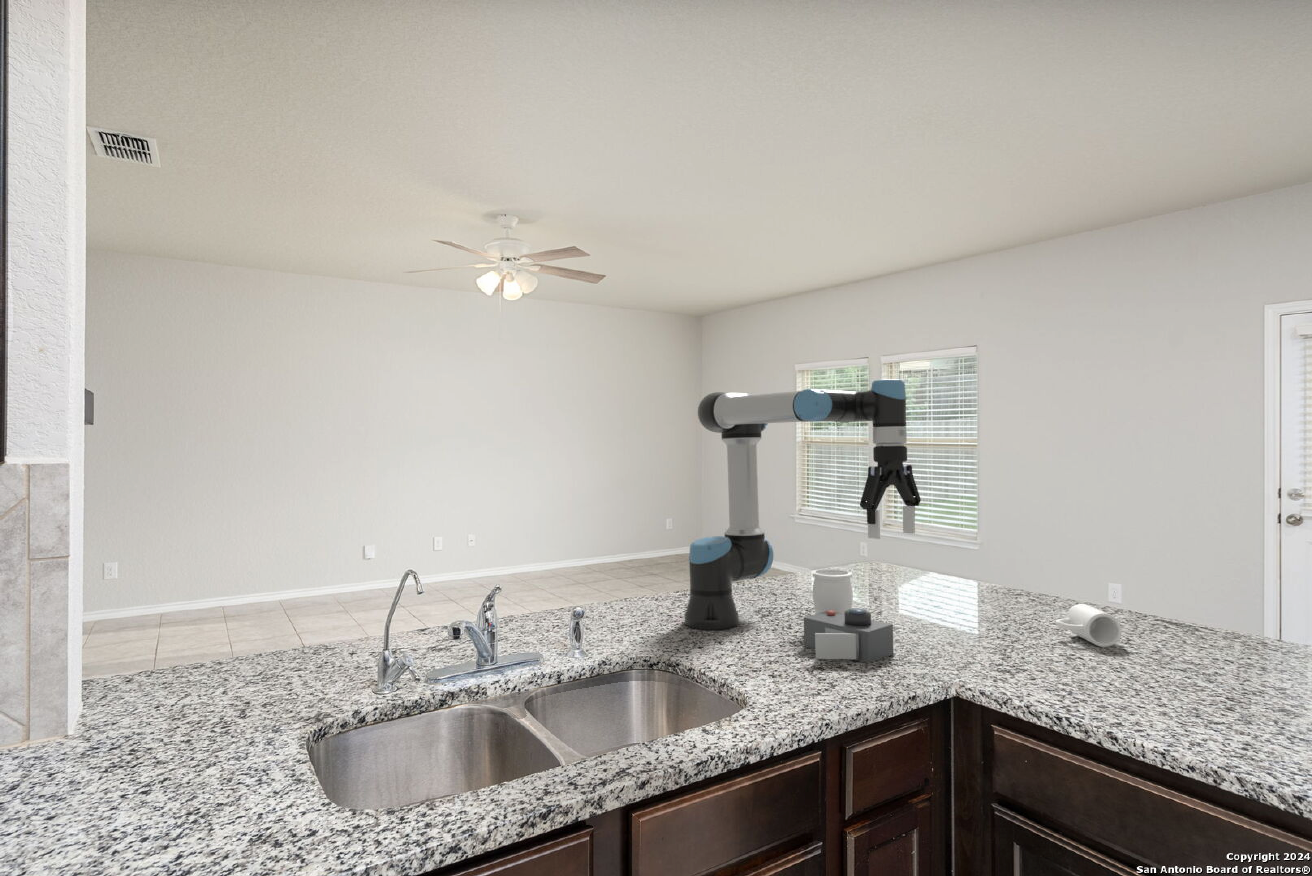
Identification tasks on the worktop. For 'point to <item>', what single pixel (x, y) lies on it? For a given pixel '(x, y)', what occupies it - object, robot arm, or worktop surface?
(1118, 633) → the mug
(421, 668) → the worktop surface
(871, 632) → the camera body
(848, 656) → the side door
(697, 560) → the robot arm
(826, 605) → the jar
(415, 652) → the worktop surface
